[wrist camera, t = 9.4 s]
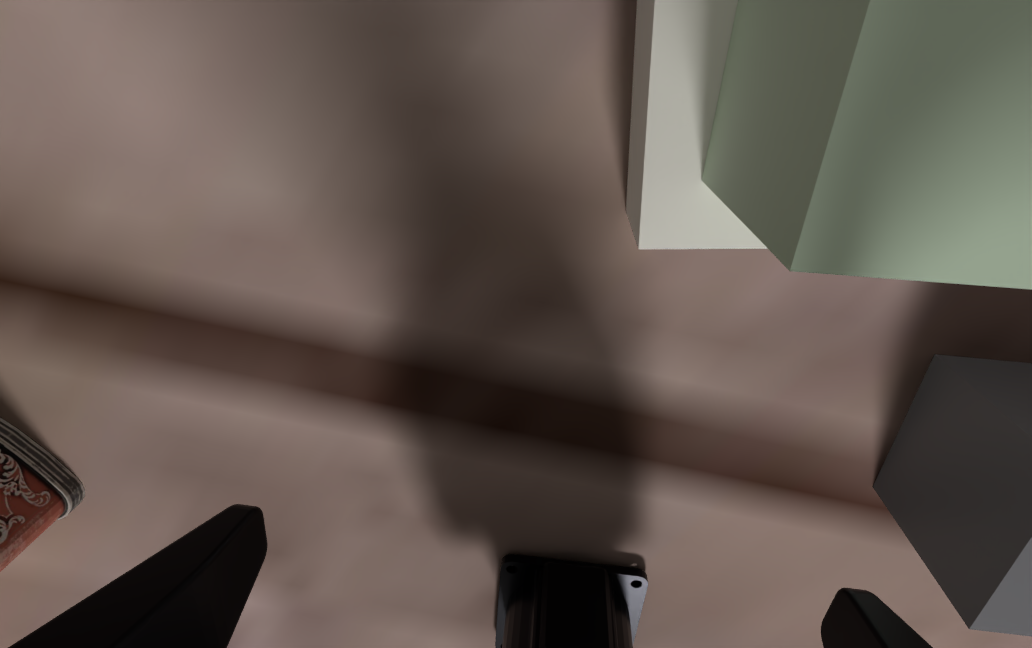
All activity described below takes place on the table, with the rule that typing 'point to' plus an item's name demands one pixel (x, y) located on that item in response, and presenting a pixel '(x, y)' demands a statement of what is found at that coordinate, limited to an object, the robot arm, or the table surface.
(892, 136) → the sage block
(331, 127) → the table surface
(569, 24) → the table surface
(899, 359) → the table surface
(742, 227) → the base block
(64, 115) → the table surface
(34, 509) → the lighter
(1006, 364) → the charcoal block
